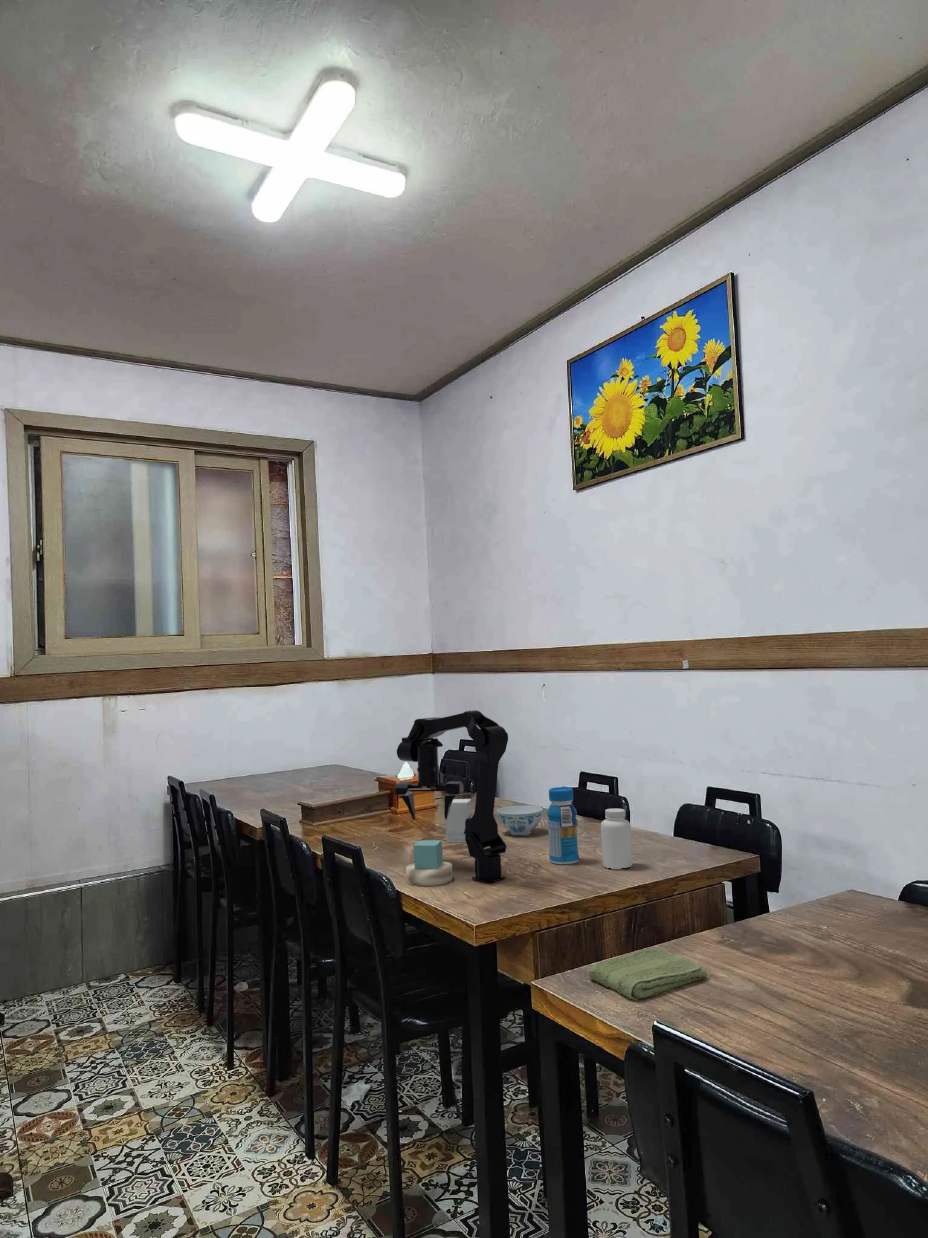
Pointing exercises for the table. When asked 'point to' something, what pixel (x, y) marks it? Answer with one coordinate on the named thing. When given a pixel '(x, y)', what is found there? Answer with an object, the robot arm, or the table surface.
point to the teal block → (428, 854)
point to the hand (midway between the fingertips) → (430, 819)
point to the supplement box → (457, 820)
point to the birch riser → (429, 875)
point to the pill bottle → (616, 840)
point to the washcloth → (646, 973)
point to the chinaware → (520, 818)
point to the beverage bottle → (562, 827)
